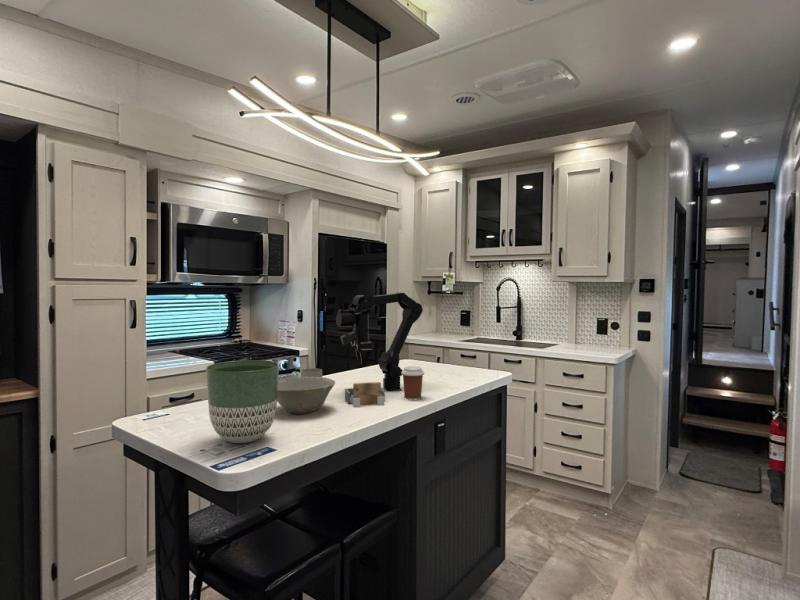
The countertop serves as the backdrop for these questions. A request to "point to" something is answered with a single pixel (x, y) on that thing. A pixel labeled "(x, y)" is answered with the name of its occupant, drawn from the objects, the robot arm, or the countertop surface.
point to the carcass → (356, 401)
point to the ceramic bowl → (303, 393)
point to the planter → (242, 398)
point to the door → (367, 392)
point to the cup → (311, 372)
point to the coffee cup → (412, 382)
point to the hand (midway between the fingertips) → (361, 364)
